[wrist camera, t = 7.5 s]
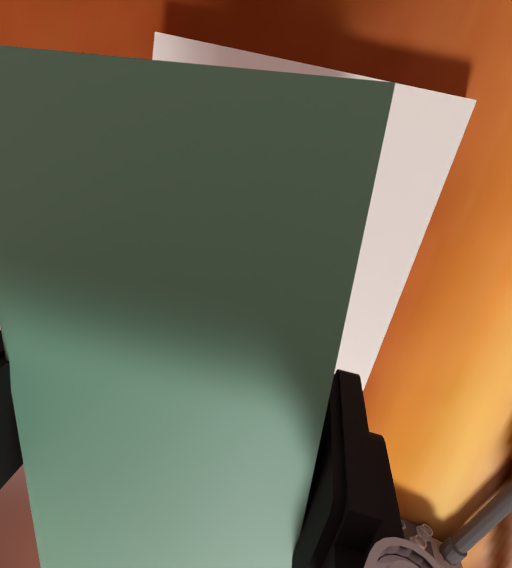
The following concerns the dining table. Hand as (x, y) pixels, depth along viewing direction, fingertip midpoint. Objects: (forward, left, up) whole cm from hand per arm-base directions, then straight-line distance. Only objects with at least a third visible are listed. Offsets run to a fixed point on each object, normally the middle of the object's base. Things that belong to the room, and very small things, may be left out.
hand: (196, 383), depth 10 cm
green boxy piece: (0, 0, -1) cm, 1 cm away
